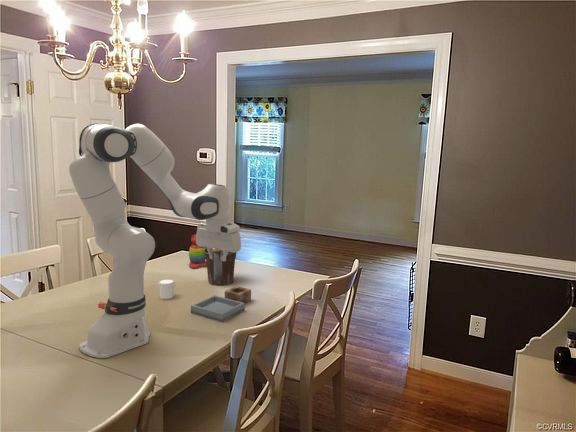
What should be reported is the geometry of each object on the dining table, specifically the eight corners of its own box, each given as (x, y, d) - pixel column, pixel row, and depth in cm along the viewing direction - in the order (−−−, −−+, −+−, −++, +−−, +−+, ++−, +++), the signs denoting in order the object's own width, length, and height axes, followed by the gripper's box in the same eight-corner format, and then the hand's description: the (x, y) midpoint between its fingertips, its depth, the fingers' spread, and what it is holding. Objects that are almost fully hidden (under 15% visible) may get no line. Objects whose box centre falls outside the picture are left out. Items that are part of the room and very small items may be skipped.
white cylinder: (170, 300, 174) (169, 284, 173) (155, 298, 176) (155, 283, 175) (177, 294, 181) (177, 279, 180) (163, 293, 182) (163, 278, 181)
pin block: (239, 306, 170) (239, 294, 169) (224, 302, 174) (224, 291, 173) (251, 300, 176) (251, 289, 175) (236, 296, 180) (236, 286, 180)
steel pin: (218, 282, 159) (218, 249, 156) (209, 280, 161) (209, 247, 159) (226, 279, 163) (226, 246, 160) (217, 277, 165) (217, 245, 163)
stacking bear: (193, 269, 219) (192, 237, 216) (184, 265, 226) (184, 233, 223) (211, 266, 226) (210, 234, 223) (202, 262, 233) (201, 231, 230)
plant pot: (222, 289, 189) (222, 255, 186) (196, 283, 197) (196, 250, 195) (243, 280, 203) (244, 249, 200) (219, 274, 211) (219, 244, 208)
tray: (222, 322, 154) (222, 314, 153) (190, 312, 162) (190, 305, 161) (244, 310, 166) (244, 303, 165) (214, 301, 174) (214, 295, 173)
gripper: (191, 223, 161) (192, 257, 163) (232, 229, 150) (232, 266, 153) (203, 221, 166) (203, 254, 168) (243, 227, 156) (243, 262, 158)
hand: (217, 259), depth 160 cm, fingers closed on steel pin, 4 cm apart
